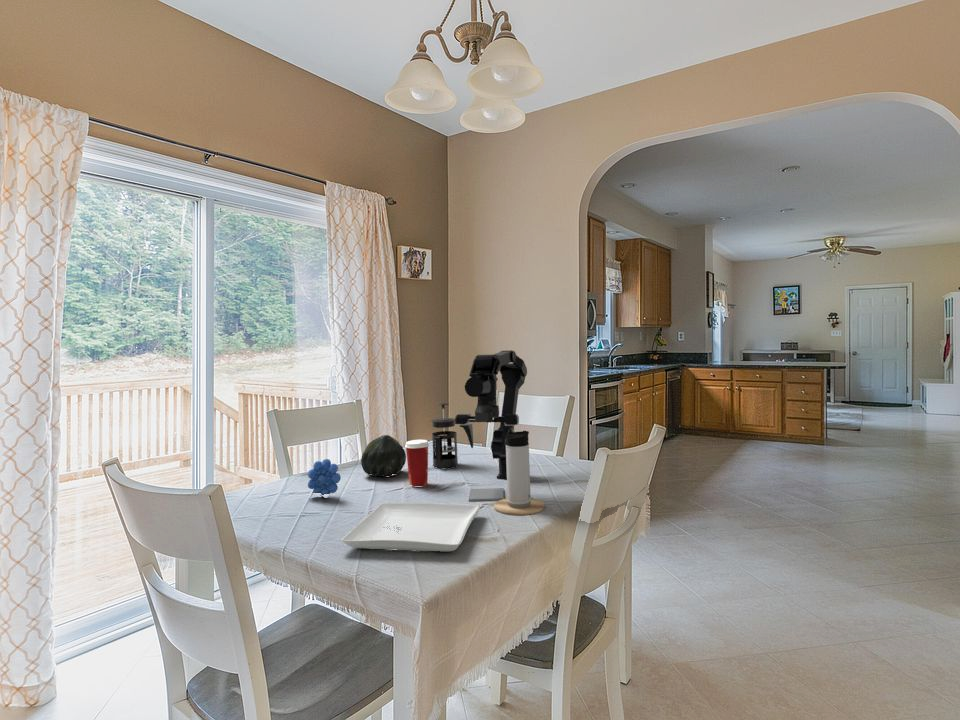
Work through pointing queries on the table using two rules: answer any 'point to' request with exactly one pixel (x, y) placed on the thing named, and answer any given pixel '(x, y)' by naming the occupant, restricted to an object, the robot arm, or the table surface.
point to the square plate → (413, 527)
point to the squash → (383, 457)
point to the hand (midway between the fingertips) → (487, 448)
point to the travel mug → (518, 469)
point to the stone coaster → (486, 494)
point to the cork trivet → (506, 509)
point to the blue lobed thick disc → (324, 477)
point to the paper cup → (417, 462)
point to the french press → (438, 457)
